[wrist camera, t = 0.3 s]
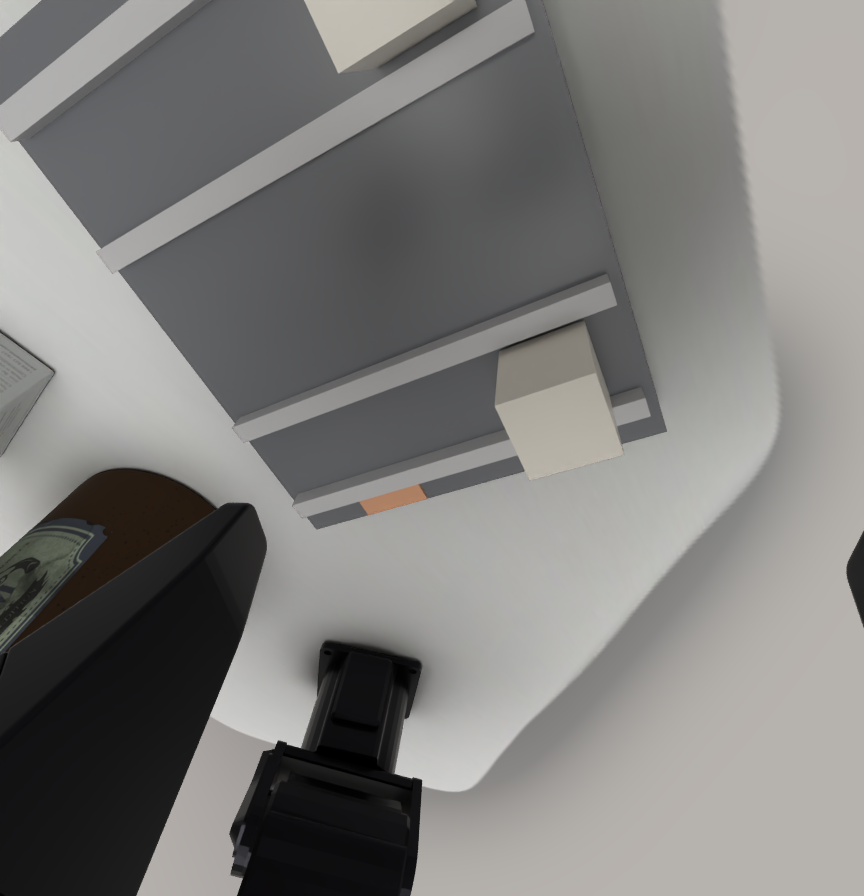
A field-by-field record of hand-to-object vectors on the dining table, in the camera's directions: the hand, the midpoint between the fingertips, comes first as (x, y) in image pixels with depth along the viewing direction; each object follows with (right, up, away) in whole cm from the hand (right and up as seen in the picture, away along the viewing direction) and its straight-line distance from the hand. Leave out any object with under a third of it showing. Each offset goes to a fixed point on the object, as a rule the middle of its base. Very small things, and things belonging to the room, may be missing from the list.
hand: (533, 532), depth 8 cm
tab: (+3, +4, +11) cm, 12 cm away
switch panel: (-4, +8, +12) cm, 15 cm away
